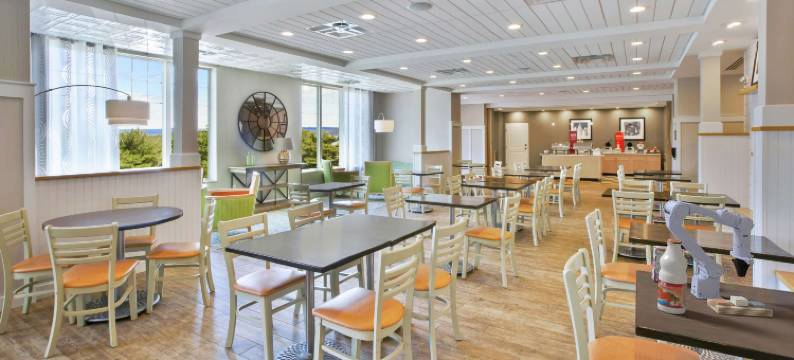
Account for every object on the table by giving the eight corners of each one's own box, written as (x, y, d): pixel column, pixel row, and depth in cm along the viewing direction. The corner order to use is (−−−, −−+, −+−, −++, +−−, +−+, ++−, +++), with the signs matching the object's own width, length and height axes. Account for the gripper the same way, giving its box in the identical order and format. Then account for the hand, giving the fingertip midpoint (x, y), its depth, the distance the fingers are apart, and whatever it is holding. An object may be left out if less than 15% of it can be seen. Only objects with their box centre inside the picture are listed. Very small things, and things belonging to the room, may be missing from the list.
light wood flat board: (718, 313, 167) (718, 307, 167) (706, 304, 176) (707, 298, 176) (772, 317, 163) (772, 310, 163) (758, 307, 172) (758, 301, 172)
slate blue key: (753, 310, 167) (753, 304, 167) (747, 307, 171) (747, 300, 170) (765, 311, 166) (765, 305, 166) (759, 307, 170) (759, 301, 170)
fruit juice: (691, 313, 167) (695, 242, 165) (670, 315, 166) (673, 243, 163) (672, 304, 177) (675, 236, 174) (651, 306, 175) (654, 238, 173)
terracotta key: (717, 308, 169) (718, 302, 169) (712, 304, 173) (713, 298, 173) (729, 309, 169) (730, 303, 168) (724, 305, 172) (724, 299, 172)
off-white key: (735, 305, 168) (736, 299, 168) (730, 301, 172) (730, 295, 172) (747, 306, 167) (748, 300, 167) (741, 302, 171) (742, 296, 171)
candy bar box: (653, 282, 204) (655, 247, 203) (651, 279, 209) (652, 245, 208) (681, 284, 201) (683, 249, 199) (678, 281, 205) (679, 247, 204)
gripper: (762, 249, 173) (762, 282, 174) (743, 240, 187) (743, 271, 188) (742, 248, 174) (742, 282, 176) (724, 240, 189) (724, 271, 190)
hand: (741, 276), depth 182 cm, fingers closed
